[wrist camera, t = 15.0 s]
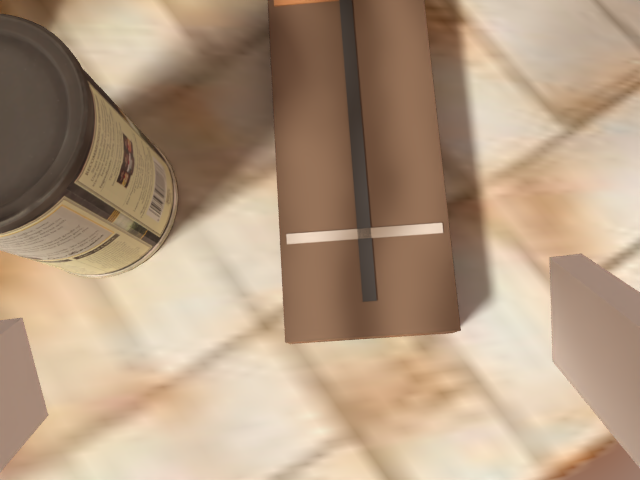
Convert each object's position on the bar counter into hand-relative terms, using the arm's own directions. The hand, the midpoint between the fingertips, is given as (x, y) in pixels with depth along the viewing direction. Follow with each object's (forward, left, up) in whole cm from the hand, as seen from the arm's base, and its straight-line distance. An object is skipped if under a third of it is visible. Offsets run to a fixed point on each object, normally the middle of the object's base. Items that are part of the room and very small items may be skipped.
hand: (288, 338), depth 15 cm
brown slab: (+3, +15, -23) cm, 27 cm away
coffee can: (-14, +11, -23) cm, 29 cm away
